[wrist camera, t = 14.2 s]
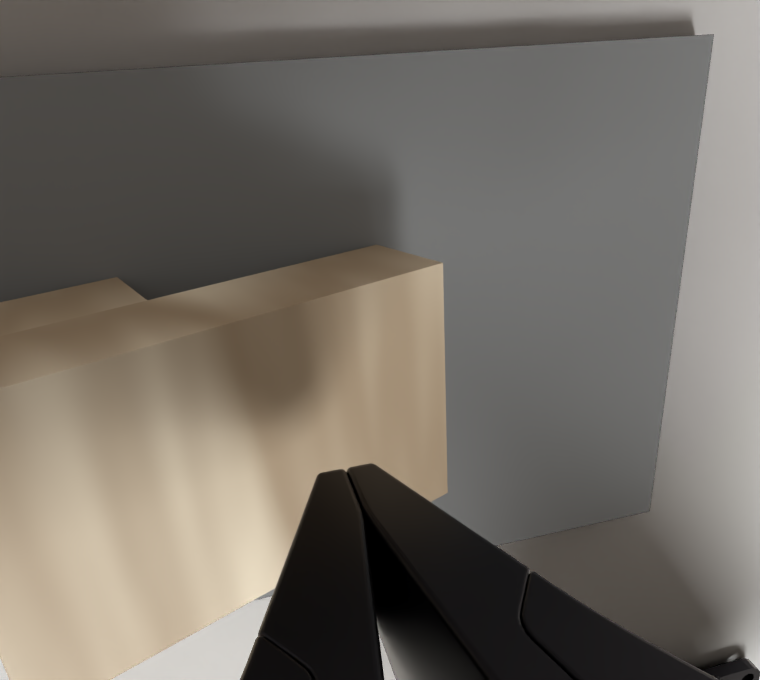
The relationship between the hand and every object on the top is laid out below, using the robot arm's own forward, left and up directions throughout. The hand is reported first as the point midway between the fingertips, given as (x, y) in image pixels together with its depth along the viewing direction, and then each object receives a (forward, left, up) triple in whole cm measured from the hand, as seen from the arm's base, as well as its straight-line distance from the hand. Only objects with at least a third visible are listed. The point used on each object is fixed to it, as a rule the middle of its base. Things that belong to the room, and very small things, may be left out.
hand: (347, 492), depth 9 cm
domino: (0, -2, -4) cm, 4 cm away
